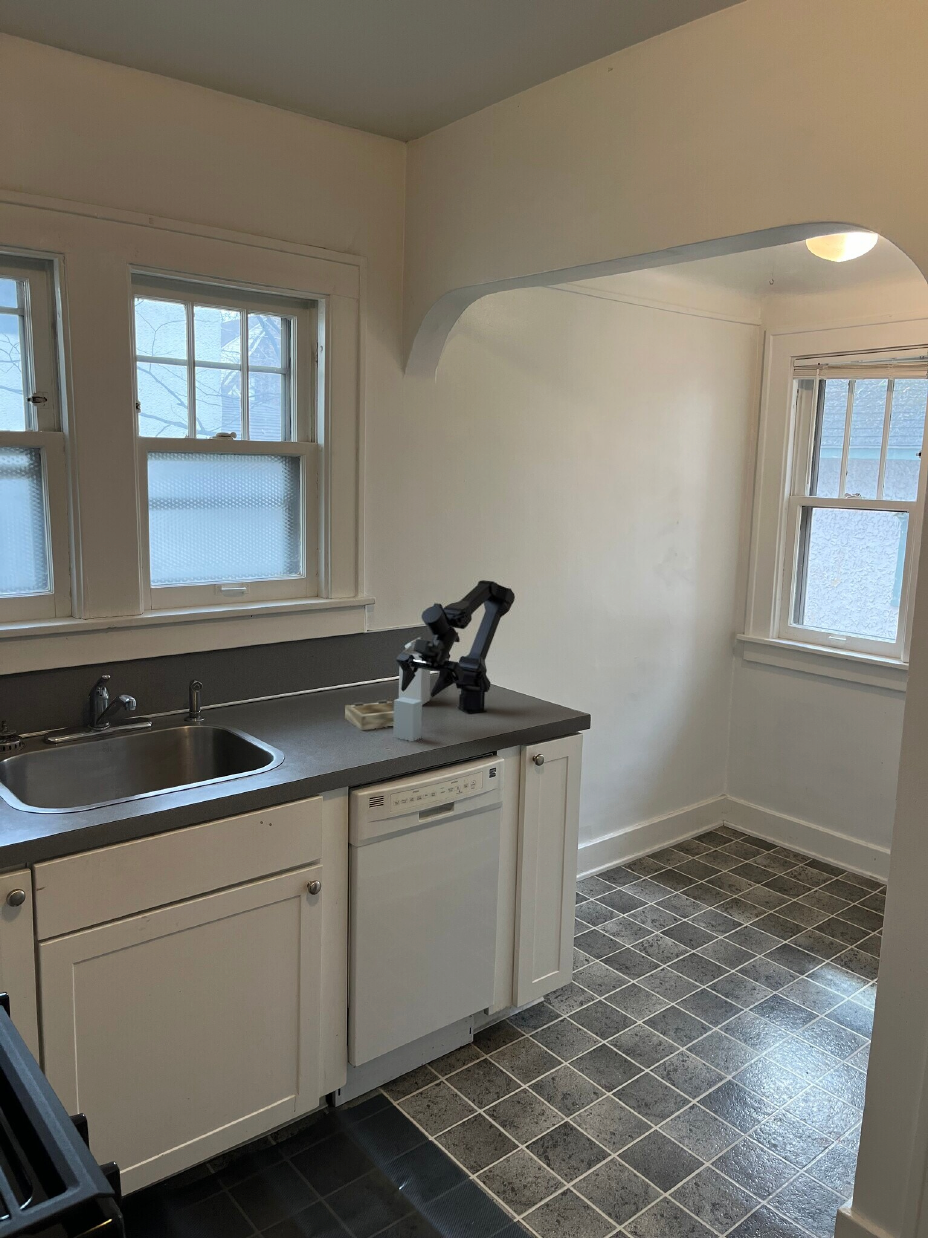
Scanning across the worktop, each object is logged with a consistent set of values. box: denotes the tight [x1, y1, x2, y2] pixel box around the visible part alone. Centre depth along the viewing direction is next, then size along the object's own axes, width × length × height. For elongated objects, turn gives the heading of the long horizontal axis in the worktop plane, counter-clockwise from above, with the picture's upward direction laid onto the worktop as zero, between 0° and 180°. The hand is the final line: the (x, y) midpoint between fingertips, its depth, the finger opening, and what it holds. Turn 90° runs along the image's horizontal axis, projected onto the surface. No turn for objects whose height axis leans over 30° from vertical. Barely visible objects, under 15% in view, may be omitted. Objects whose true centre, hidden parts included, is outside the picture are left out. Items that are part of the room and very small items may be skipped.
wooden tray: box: [344, 699, 394, 731], centre depth 254 cm, size 14×12×4 cm
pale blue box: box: [392, 697, 423, 742], centre depth 240 cm, size 4×6×10 cm, turn 59°
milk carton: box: [398, 637, 431, 706], centre depth 274 cm, size 7×7×19 cm
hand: (416, 693), depth 242 cm, fingers open, 9 cm apart
